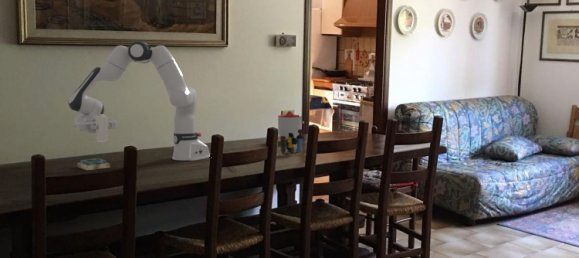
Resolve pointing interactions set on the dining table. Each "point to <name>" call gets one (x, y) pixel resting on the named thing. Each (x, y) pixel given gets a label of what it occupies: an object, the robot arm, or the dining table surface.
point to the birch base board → (93, 164)
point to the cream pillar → (102, 128)
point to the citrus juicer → (289, 124)
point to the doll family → (291, 143)
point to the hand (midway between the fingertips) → (102, 127)
